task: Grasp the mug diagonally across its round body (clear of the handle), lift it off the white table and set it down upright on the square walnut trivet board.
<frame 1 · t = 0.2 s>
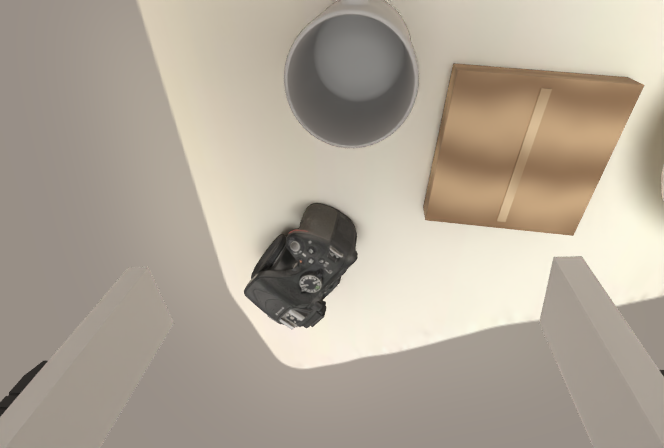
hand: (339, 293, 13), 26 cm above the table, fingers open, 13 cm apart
camera: (307, 247, 46), on the table
trivet: (513, 149, 37), on the table
mug: (360, 29, 33), on the table
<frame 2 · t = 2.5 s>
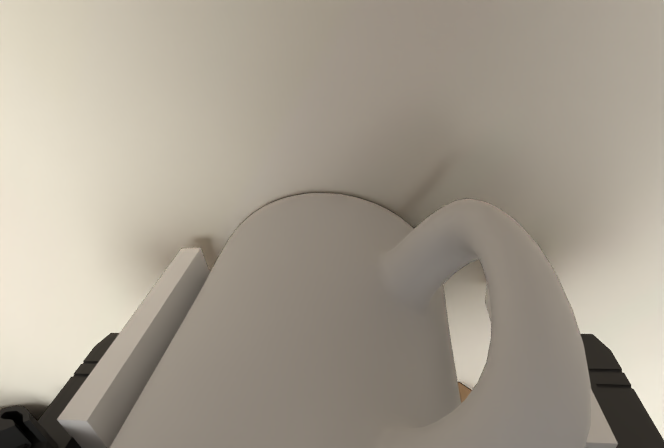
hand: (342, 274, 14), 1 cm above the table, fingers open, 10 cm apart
mug: (356, 254, 15), on the table, touching gripper
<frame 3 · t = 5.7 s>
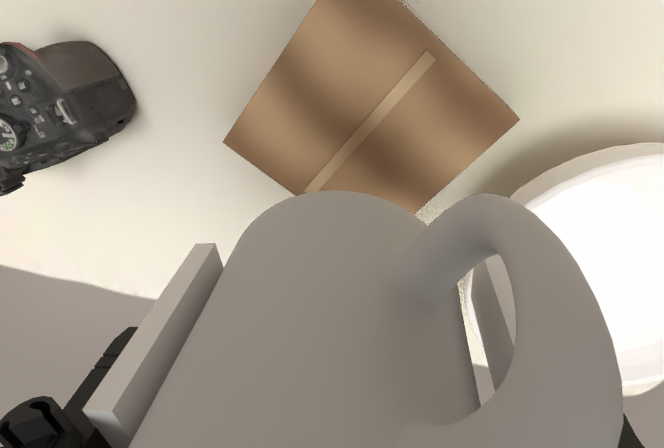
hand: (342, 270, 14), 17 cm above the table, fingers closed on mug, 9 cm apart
camera: (58, 102, 31), on the table
trivet: (364, 119, 29), on the table
bowl: (577, 232, 32), on the table
mug: (367, 252, 15), point 16 cm above the table, touching gripper
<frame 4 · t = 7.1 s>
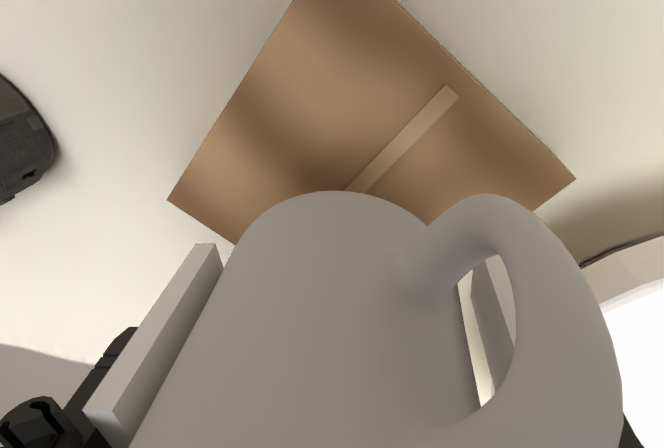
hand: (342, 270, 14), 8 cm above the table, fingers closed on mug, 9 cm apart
trivet: (357, 168, 21), on the table
bowl: (634, 307, 25), on the table
mug: (367, 252, 15), point 8 cm above the table, touching gripper
when the fingers open (4 cm above the table, at t = 8.4 s): mug drops 1 cm, resting on trivet.
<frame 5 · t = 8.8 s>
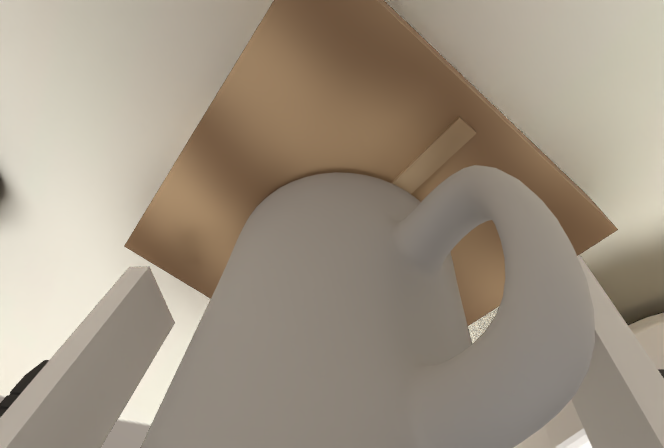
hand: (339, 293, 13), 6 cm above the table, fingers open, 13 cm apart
trivet: (351, 207, 18), on the table
mug: (367, 231, 16), point 2 cm above the table, touching trivet
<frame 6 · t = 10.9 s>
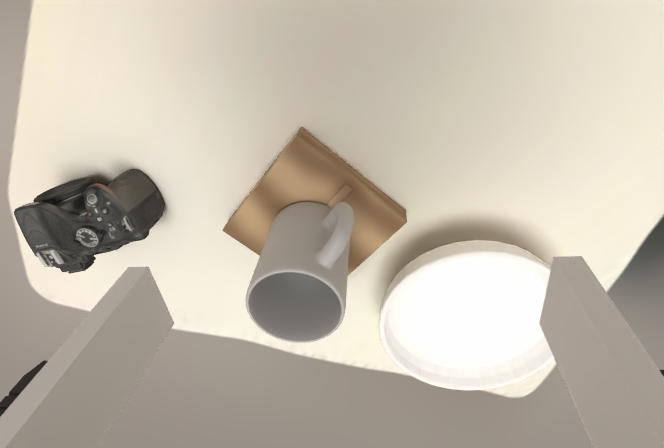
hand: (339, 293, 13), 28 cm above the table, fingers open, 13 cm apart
camera: (112, 200, 46), on the table
trivet: (314, 214, 44), on the table
bowl: (461, 284, 47), on the table
mug: (318, 223, 42), point 2 cm above the table, touching trivet
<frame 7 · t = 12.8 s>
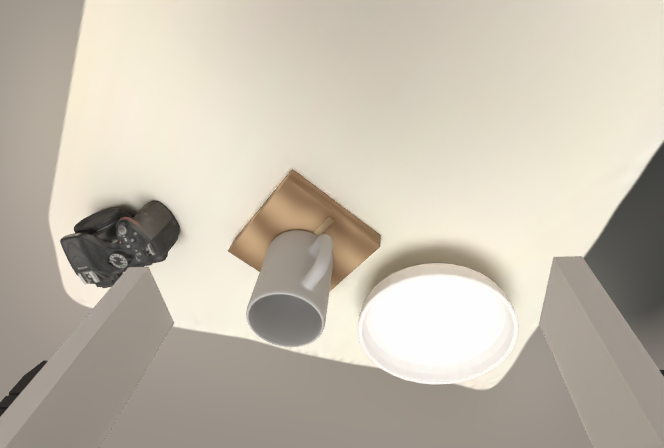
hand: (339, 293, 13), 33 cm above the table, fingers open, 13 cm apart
camera: (135, 225, 55), on the table
trivet: (305, 237, 53), on the table
bowl: (430, 295, 56), on the table
mug: (307, 246, 50), point 2 cm above the table, touching trivet
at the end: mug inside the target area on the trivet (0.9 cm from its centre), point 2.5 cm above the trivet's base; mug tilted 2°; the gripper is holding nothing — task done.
